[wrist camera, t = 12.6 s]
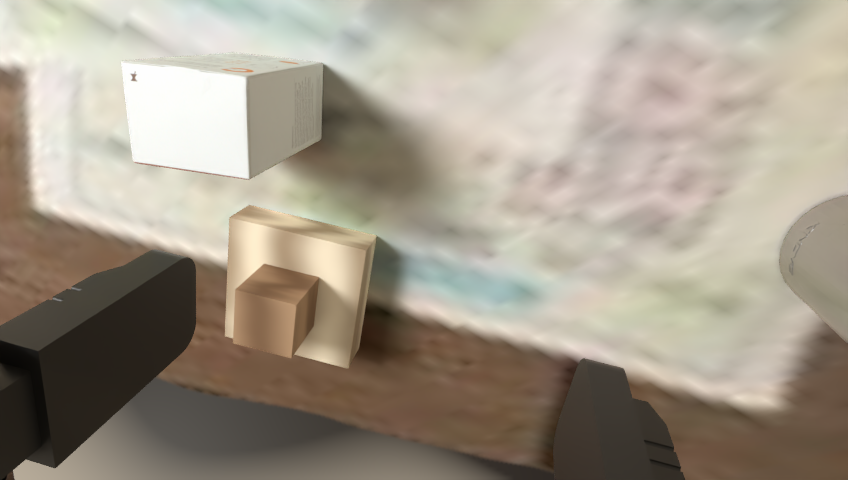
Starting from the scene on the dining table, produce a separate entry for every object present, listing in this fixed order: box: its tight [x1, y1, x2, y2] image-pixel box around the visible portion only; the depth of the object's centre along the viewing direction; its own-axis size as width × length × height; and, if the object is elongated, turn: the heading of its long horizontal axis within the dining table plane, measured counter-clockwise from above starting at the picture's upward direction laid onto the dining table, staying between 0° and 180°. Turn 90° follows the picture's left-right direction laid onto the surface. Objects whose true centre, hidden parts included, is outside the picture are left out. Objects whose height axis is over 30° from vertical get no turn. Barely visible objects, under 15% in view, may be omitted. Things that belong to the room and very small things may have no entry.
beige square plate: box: [225, 205, 377, 368], centre depth 48 cm, size 12×12×4 cm
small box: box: [121, 52, 323, 180], centre depth 37 cm, size 8×6×13 cm
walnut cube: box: [233, 264, 319, 358], centre depth 44 cm, size 5×5×5 cm
